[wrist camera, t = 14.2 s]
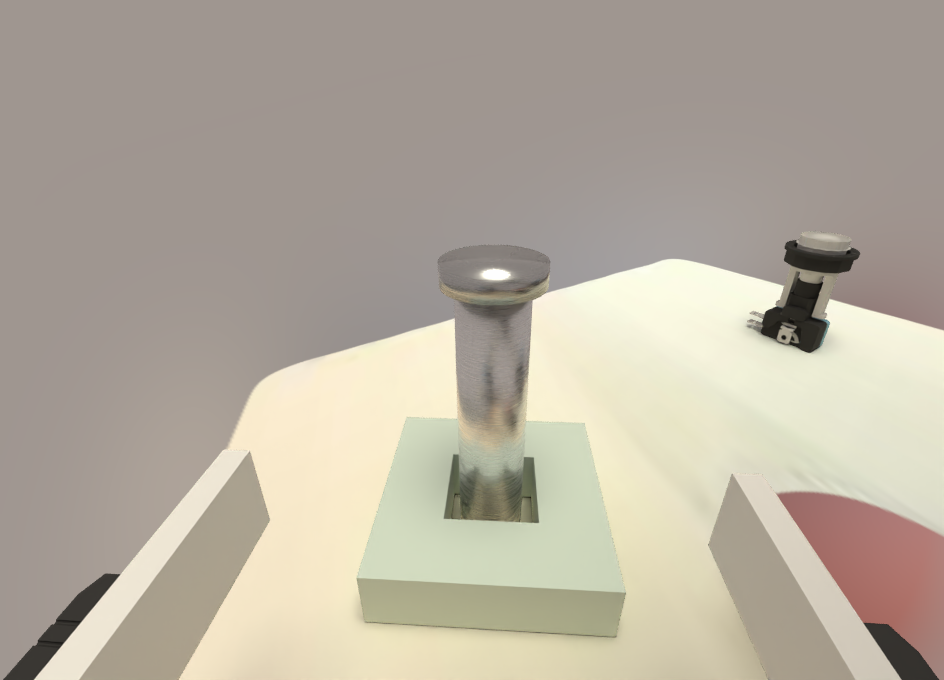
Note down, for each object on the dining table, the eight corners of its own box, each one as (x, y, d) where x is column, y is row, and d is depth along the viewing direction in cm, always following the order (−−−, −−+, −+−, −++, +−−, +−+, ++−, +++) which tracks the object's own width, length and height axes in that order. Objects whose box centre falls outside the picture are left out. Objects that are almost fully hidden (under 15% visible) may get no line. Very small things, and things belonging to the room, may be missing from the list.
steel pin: (529, 498, 27) (545, 245, 20) (533, 565, 23) (555, 279, 16) (453, 495, 27) (444, 244, 20) (445, 561, 23) (430, 278, 16)
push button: (733, 332, 46) (761, 231, 41) (761, 319, 48) (790, 223, 44) (807, 359, 41) (848, 249, 36) (833, 343, 44) (875, 238, 39)
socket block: (579, 460, 30) (584, 423, 28) (615, 636, 20) (625, 592, 19) (410, 454, 30) (406, 417, 29) (364, 621, 21) (356, 577, 19)
